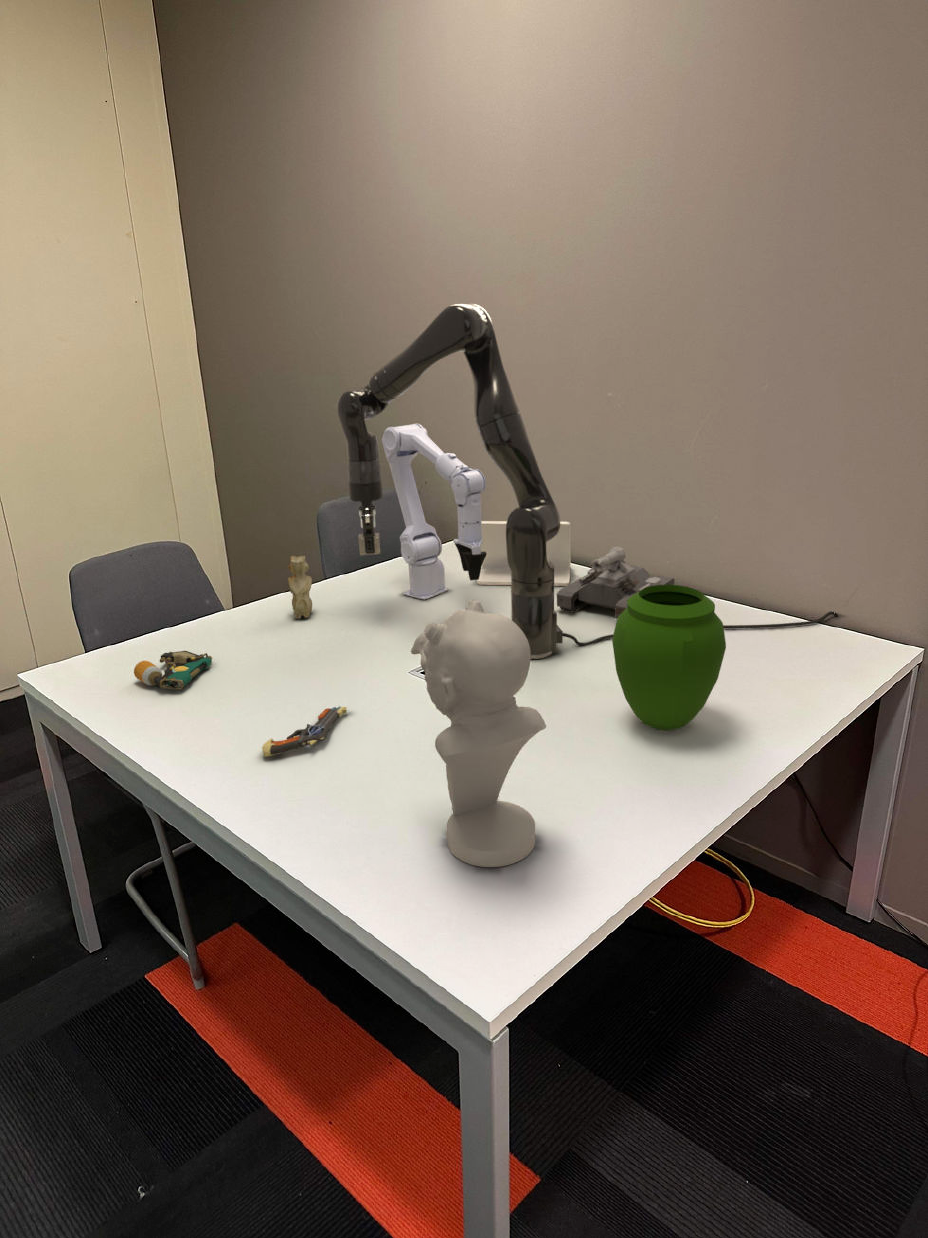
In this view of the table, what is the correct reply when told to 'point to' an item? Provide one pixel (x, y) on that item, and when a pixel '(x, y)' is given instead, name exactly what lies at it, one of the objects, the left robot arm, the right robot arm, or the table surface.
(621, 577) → the toy
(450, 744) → the bust sculpture
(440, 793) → the table surface
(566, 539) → the tablet stand
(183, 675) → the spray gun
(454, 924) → the table surface
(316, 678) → the table surface
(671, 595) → the vase
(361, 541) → the brick
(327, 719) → the toy gun
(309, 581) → the sculpture
